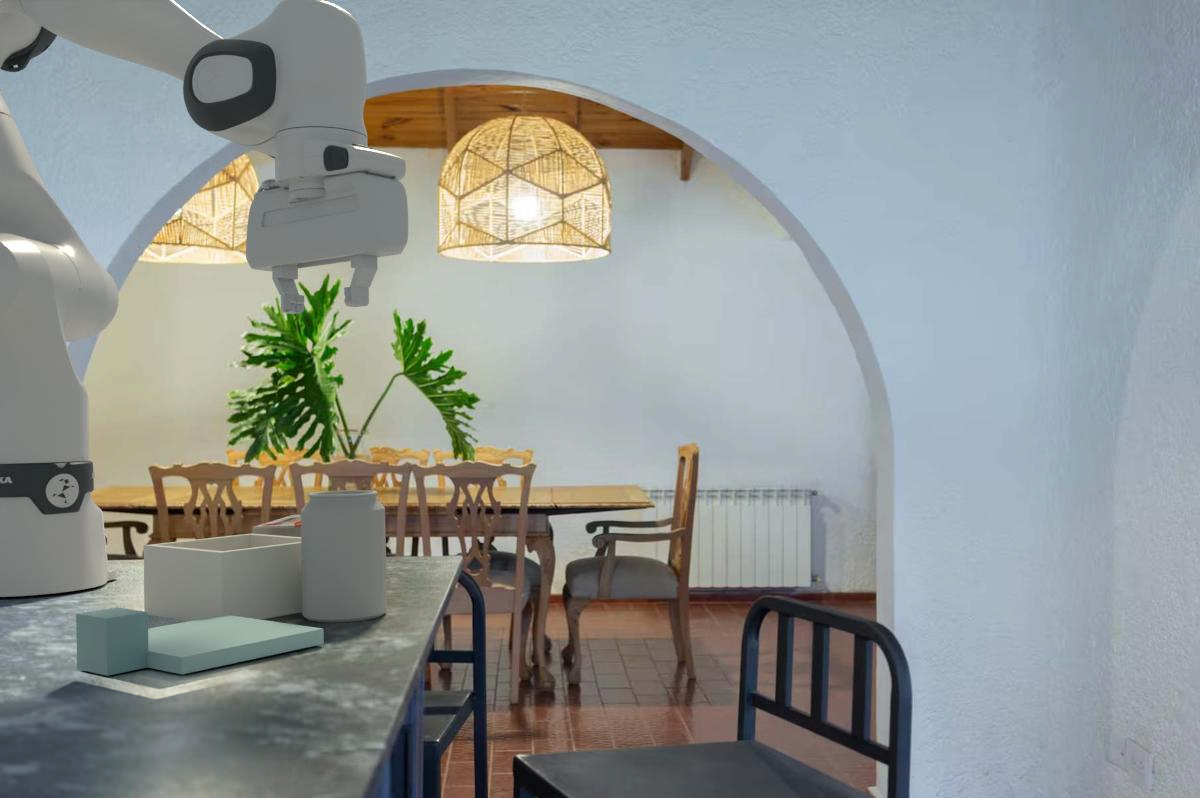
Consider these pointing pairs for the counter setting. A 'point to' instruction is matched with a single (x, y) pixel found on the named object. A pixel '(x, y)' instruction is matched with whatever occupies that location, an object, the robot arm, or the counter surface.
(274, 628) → the lid
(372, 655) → the counter surface
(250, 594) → the tub
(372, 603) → the can
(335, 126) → the robot arm
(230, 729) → the counter surface
